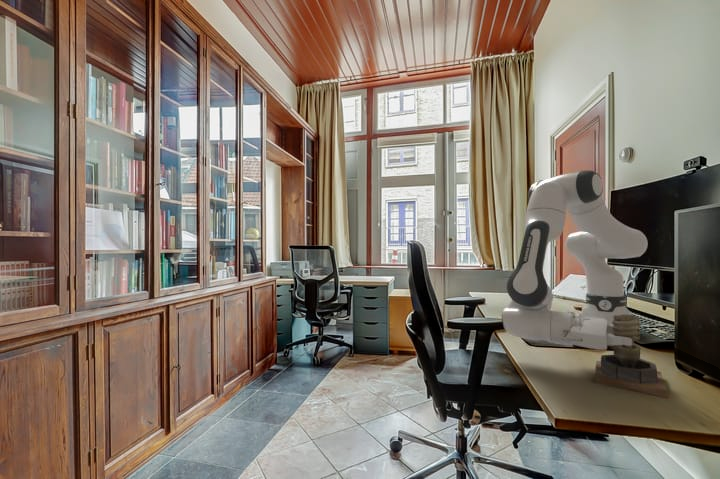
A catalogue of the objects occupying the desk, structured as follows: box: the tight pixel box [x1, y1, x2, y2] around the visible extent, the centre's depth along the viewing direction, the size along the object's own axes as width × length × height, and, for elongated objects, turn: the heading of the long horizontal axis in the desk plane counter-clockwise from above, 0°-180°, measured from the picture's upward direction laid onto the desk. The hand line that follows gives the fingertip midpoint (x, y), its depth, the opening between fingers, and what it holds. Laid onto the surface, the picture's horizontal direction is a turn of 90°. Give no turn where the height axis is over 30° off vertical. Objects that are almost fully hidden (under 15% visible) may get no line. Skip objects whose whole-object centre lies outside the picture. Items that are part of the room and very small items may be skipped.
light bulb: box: [612, 314, 642, 368], centre depth 79 cm, size 6×6×15 cm
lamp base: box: [594, 354, 669, 399], centre depth 79 cm, size 13×13×4 cm
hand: (631, 336), depth 79 cm, fingers open, 8 cm apart
